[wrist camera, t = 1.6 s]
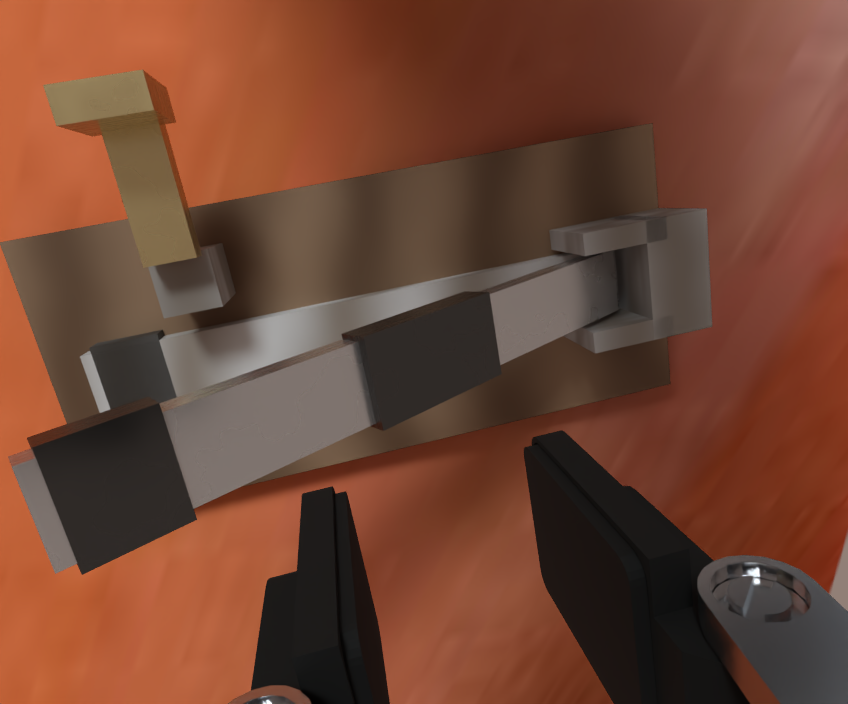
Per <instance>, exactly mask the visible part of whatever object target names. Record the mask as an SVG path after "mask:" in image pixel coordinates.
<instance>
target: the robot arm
mask: <svg viewBox="0 0 848 704" xmlns="http://www.w3.org/2000/svg"><path fill="white" fill-rule="evenodd" d="M524 459H525V465H526V472H527V479H528V486H529V493H530V500H531V506H532V513H533V520H534V527H535V534H536V541H537V548H538V554H539V561H540V568H541V573H542V577H543V580H544V583H545V586H546V588H547V590H548V592H549V594H550V596H551V597H552V599H553V601H554V602H555V604H556V606H557V608H558V609H559V611H560V613H561V614H562V616H563V618H564V619H565V621H566V623H567V625H568V626H569V628H570V630H571V631H572V633H573V635H574V636H575V638H576V640H577V642H578V643H579V645H580V647H581V648H582V650H583V652H584V654H585V655H586V657H587V659H588V660H589V662H590V664H591V665H592V667H593V669H594V671H595V672H596V674H597V676H598V677H599V679H600V681H601V682H602V684H603V686H604V688H605V689H606V691H607V693H608V694H609V696H610V698H611V700H612V701H613V703H614V704H848V611H847V610H845V609H844V608H843V607H842V606H841V605H840V604H839V603H838V602H837V601H836V600H835V599H834V598H832V596H831V595H829V594H828V593H827V592H826V591H825V590H824V589H823V588H822V587H821V586H820V585H819V584H818V583H817V582H816V581H814V580H813V579H812V578H810V577H809V576H808V575H806V574H805V573H804V572H802V571H801V570H799V569H797V568H795V567H793V566H790V565H788V564H786V563H784V562H781V561H777V560H773V559H770V558H766V557H759V556H749V555H741V556H728V557H725V558H722V559H718V560H715V561H713V560H712V559H711V558H710V557H709V556H708V555H707V554H706V553H705V552H703V551H702V550H701V549H700V548H699V547H698V546H697V545H696V544H695V543H694V542H692V541H691V540H690V539H689V538H688V537H687V536H686V535H685V534H684V533H682V532H681V531H680V530H679V529H678V528H677V527H676V526H675V525H674V524H673V523H671V522H670V521H669V520H668V519H667V518H666V517H665V516H664V515H663V514H662V513H660V512H659V511H658V510H657V509H656V508H655V507H654V506H653V505H652V504H651V503H649V502H648V501H647V500H646V499H645V498H644V497H643V496H642V495H641V494H639V493H638V492H637V491H636V490H635V489H633V488H632V487H630V486H624V487H623V486H622V485H621V484H620V483H619V482H618V481H617V480H616V479H615V478H613V477H612V476H611V475H610V474H609V473H608V472H607V471H606V470H605V469H604V468H603V467H602V466H601V465H600V464H598V463H597V462H596V461H595V460H594V459H593V458H592V457H591V456H590V455H589V454H588V453H587V452H586V451H585V450H583V449H582V448H581V447H580V446H579V445H578V444H577V443H576V442H575V441H574V440H573V439H572V438H571V437H570V436H568V435H567V434H566V433H565V432H564V431H557V432H553V433H549V434H545V435H541V436H537V437H533V439H532V446H529V447H525V448H524ZM228 704H390V702H389V695H388V688H387V681H386V673H385V666H384V659H383V652H382V644H381V637H380V631H379V626H378V621H377V616H376V612H375V608H374V604H373V599H372V595H371V591H370V587H369V583H368V579H367V575H366V570H365V566H364V562H363V558H362V554H361V550H360V546H359V541H358V537H357V533H356V529H355V525H354V521H353V516H352V512H351V508H350V504H349V500H348V496H347V493H346V492H342V493H337V494H335V491H334V488H333V486H332V487H328V488H324V489H320V490H316V491H312V492H308V493H303V494H302V503H301V519H300V534H299V549H298V565H297V571H296V572H292V573H288V574H284V575H280V576H277V577H273V578H270V579H268V580H267V584H266V590H265V596H264V603H263V610H262V617H261V624H260V631H259V638H258V645H257V652H256V659H255V666H254V673H253V680H252V687H251V691H249V692H247V693H245V694H243V695H241V696H239V697H237V698H235V699H233V700H232V701H231V702H229V703H228Z"/></svg>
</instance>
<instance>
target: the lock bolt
mask: <svg viewBox="0 0 848 704" xmlns="http://www.w3.org/2000/svg"><path fill="white" fill-rule="evenodd" d="M43 86H44V89H45V92H46V95H47V98H48V101H49V104H50V107H51V110H52V113H53V116H54V120H55V123H56V126H59V127H62V128H65V129H69V130H72V131H76V132H79V133H82V134H86V135H89V136H98V135H102V136H103V139H104V142H105V146H106V149H107V152H108V155H109V159H110V162H111V165H112V168H113V171H114V175H115V178H116V181H117V184H118V188H119V191H120V194H121V197H122V200H123V204H124V207H125V210H126V213H127V217H128V220H129V223H130V226H131V229H132V233H133V236H134V239H135V242H136V246H137V249H138V252H139V255H140V258H141V262H142V265H143V268H145V267H151V266H156V265H161V264H166V263H171V262H176V261H182V260H187V259H192V258H197V257H199V256H202V254H201V250H200V246H199V243H198V239H197V236H196V232H195V229H194V225H193V222H192V218H191V214H190V211H189V207H188V204H187V200H186V197H185V193H184V190H183V186H182V182H181V179H180V175H179V172H178V168H177V165H176V161H175V158H174V154H173V150H172V147H171V143H170V140H169V136H168V133H167V129H166V126H165V124H170V123H176V120H175V117H174V113H173V109H172V106H171V102H170V98H169V95H168V91H167V88H166V87H165V86H164V85H162V84H161V83H160V82H158V81H157V80H156V79H154V78H153V77H152V76H150V75H149V74H148V73H146V72H145V71H144V70H138V71H131V72H125V73H118V74H112V75H105V76H99V77H92V78H86V79H79V80H73V81H66V82H60V83H54V84H47V85H43Z"/></svg>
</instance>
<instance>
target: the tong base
mask: <svg viewBox="0 0 848 704" xmlns="http://www.w3.org/2000/svg"><path fill="white" fill-rule="evenodd" d="M189 211H190V214H191V218H192V222H193V225H194V229H195V232H196V236H197V239H198V243H199V246H200V250H201V254H202V256H199V257H197V258H192V259H187V260H182V261H176V262H171V263H166V264H161V265H156V266H151V267H145V268H143V265H142V262H141V258H140V255H139V252H138V249H137V246H136V242H135V239H134V236H133V233H132V229H131V226H130V223H129V220H128V219H125V220H120V221H115V222H109V223H104V224H98V225H93V226H87V227H82V228H76V229H71V230H65V231H60V232H54V233H49V234H43V235H38V236H33V237H27V238H22V239H16V240H11V241H5V242H0V245H1V248H2V250H3V253H4V256H5V258H6V261H7V264H8V267H9V269H10V272H11V275H12V277H13V280H14V283H15V285H16V288H17V291H18V293H19V296H20V299H21V301H22V304H23V307H24V309H25V312H26V315H27V317H28V320H29V323H30V326H31V328H32V331H33V334H34V336H35V339H36V342H37V344H38V347H39V350H40V352H41V355H42V358H43V360H44V363H45V366H46V368H47V371H48V374H49V376H50V379H51V382H52V385H53V387H54V390H55V393H56V395H57V398H58V401H59V403H60V406H61V409H62V411H63V414H64V417H65V419H66V422H67V424H69V423H72V422H75V421H78V420H81V419H84V418H87V417H90V416H92V415H95V414H98V413H101V412H104V411H107V410H110V409H113V408H116V407H119V406H122V405H125V404H128V403H131V402H134V401H137V400H139V399H142V398H145V397H150V398H152V399H153V400H155V401H157V402H158V403H162V402H165V401H168V400H171V399H174V398H176V397H179V396H182V395H185V394H188V393H191V392H194V391H196V390H199V389H202V388H205V387H208V386H211V385H214V384H216V383H219V382H222V381H225V380H228V379H231V378H233V377H236V376H239V375H242V374H245V373H248V372H251V371H253V370H256V369H259V368H262V367H265V366H268V365H271V364H273V363H276V362H279V361H282V360H285V359H288V358H291V357H293V356H296V355H299V354H302V353H305V352H308V351H310V350H313V349H316V348H319V347H322V346H325V345H328V344H330V343H333V342H336V341H339V340H342V335H341V334H342V333H345V332H348V331H351V330H354V329H357V328H360V327H362V326H365V325H368V324H371V323H374V322H377V321H380V320H383V319H386V318H389V317H392V316H394V315H397V314H400V313H403V312H406V311H409V310H412V309H415V308H418V307H421V306H424V305H426V304H429V303H432V302H435V301H438V300H441V299H444V298H447V297H450V296H453V295H456V294H458V293H461V292H464V291H470V292H479V291H482V290H484V289H487V288H490V287H493V286H496V285H499V284H501V283H504V282H507V281H510V280H513V279H516V278H519V277H521V276H524V275H527V274H530V273H533V272H536V271H539V270H541V269H544V268H547V267H550V266H553V265H556V264H558V263H561V262H564V261H567V260H570V259H573V258H576V257H578V256H581V255H582V256H588V255H593V254H598V253H603V252H608V251H612V250H615V260H616V271H617V282H618V293H619V304H620V309H619V310H617V311H615V312H613V313H611V314H609V315H606V316H604V317H602V318H600V319H598V320H596V321H594V322H591V323H589V324H587V325H585V326H583V327H581V328H579V329H577V330H574V331H572V332H570V333H568V334H566V335H564V336H562V337H559V338H557V339H555V340H553V341H551V342H549V343H547V344H544V345H542V346H540V347H538V348H536V349H534V350H532V351H530V352H527V353H525V354H523V355H521V356H519V357H517V358H515V359H512V360H510V361H508V362H506V363H504V364H502V365H500V366H501V372H502V374H501V375H499V376H497V377H495V378H493V379H490V380H488V381H486V382H484V383H482V384H480V385H478V386H476V387H474V388H472V389H470V390H468V391H466V392H464V393H461V394H459V395H457V396H455V397H453V398H451V399H449V400H447V401H445V402H443V403H441V404H439V405H437V406H435V407H432V408H430V409H428V410H426V411H424V412H422V413H420V414H418V415H416V416H414V417H412V418H410V419H408V420H405V421H403V422H401V423H399V424H397V425H395V426H393V427H391V428H389V429H387V430H385V431H382V430H379V429H376V428H374V427H371V426H369V427H367V428H365V429H363V430H361V431H359V432H357V433H355V434H352V435H350V436H348V437H346V438H344V439H342V440H340V441H337V442H335V443H333V444H331V445H329V446H327V447H325V448H323V449H320V450H318V451H316V452H314V453H312V454H310V455H308V456H305V457H303V458H301V459H299V460H297V461H295V462H293V463H290V464H288V465H286V466H284V467H282V468H280V469H278V470H276V471H273V472H271V473H269V474H267V475H265V476H263V477H261V478H258V479H256V480H254V481H252V482H250V483H248V484H246V485H244V486H247V485H251V484H255V483H259V482H263V481H267V480H272V479H276V478H280V477H284V476H288V475H292V474H297V473H301V472H305V471H309V470H313V469H317V468H322V467H326V466H330V465H334V464H338V463H343V462H347V461H351V460H355V459H359V458H363V457H368V456H372V455H376V454H380V453H384V452H388V451H393V450H397V449H401V448H405V447H409V446H413V445H418V444H422V443H426V442H430V441H434V440H438V439H443V438H447V437H451V436H455V435H459V434H463V433H468V432H472V431H476V430H480V429H484V428H488V427H493V426H497V425H501V424H505V423H509V422H513V421H518V420H522V419H526V418H530V417H534V416H539V415H543V414H547V413H551V412H555V411H559V410H564V409H568V408H572V407H576V406H580V405H584V404H589V403H593V402H597V401H601V400H605V399H609V398H614V397H618V396H622V395H626V394H630V393H634V392H639V391H643V390H647V389H651V388H655V387H659V386H664V385H668V384H670V370H669V356H668V341H667V337H669V336H674V335H678V334H682V333H687V332H691V331H696V330H700V329H704V328H709V327H712V311H711V290H710V269H709V247H708V226H707V209H699V208H658V196H657V182H656V167H655V153H654V138H653V124H652V123H650V124H645V125H639V126H634V127H628V128H623V129H617V130H612V131H606V132H601V133H595V134H590V135H585V136H579V137H574V138H568V139H563V140H557V141H552V142H546V143H541V144H535V145H530V146H524V147H519V148H513V149H508V150H503V151H497V152H492V153H486V154H481V155H475V156H470V157H464V158H459V159H453V160H448V161H442V162H437V163H432V164H426V165H421V166H415V167H410V168H404V169H399V170H393V171H388V172H382V173H377V174H371V175H366V176H360V177H355V178H350V179H344V180H339V181H333V182H328V183H322V184H317V185H311V186H306V187H300V188H295V189H289V190H284V191H278V192H273V193H268V194H262V195H257V196H251V197H246V198H240V199H235V200H229V201H224V202H218V203H213V204H207V205H202V206H197V207H191V208H189ZM241 487H242V486H241Z"/></svg>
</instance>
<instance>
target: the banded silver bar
mask: <svg viewBox="0 0 848 704" xmlns="http://www.w3.org/2000/svg"><path fill="white" fill-rule="evenodd" d="M619 309H620V304H619V293H618V282H617V271H616V260H615V250H612V251H608V252H603V253H598V254H593V255H588V256H582V255H581V256H578V257H576V258H573V259H570V260H567V261H564V262H561V263H558V264H556V265H553V266H550V267H547V268H544V269H541V270H539V271H536V272H533V273H530V274H527V275H524V276H521V277H519V278H516V279H513V280H510V281H507V282H504V283H501V284H499V285H496V286H493V287H490V288H487V289H484V290H482V291H479V292H470V291H464V292H461V293H458V294H456V295H453V296H450V297H447V298H444V299H441V300H438V301H435V302H432V303H429V304H426V305H424V306H421V307H418V308H415V309H412V310H409V311H406V312H403V313H400V314H397V315H394V316H392V317H389V318H386V319H383V320H380V321H377V322H374V323H371V324H368V325H365V326H362V327H360V328H357V329H354V330H351V331H348V332H345V333H342V334H341V335H342V340H339V341H336V342H333V343H330V344H328V345H325V346H322V347H319V348H316V349H313V350H310V351H308V352H305V353H302V354H299V355H296V356H293V357H291V358H288V359H285V360H282V361H279V362H276V363H273V364H271V365H268V366H265V367H262V368H259V369H256V370H253V371H251V372H248V373H245V374H242V375H239V376H236V377H233V378H231V379H228V380H225V381H222V382H219V383H216V384H214V385H211V386H208V387H205V388H202V389H199V390H196V391H194V392H191V393H188V394H185V395H182V396H179V397H176V398H174V399H171V400H168V401H165V402H162V403H158V402H157V401H155V400H153V399H152V398H150V397H145V398H142V399H139V400H137V401H134V402H131V403H128V404H125V405H122V406H119V407H116V408H113V409H110V410H107V411H104V412H101V413H98V414H95V415H92V416H90V417H87V418H84V419H81V420H78V421H75V422H72V423H69V424H66V425H63V426H60V427H57V428H54V429H51V430H48V431H45V432H43V433H40V434H37V435H34V436H31V437H28V438H27V440H28V442H29V445H30V447H31V449H28V450H25V451H23V452H20V453H17V454H14V455H11V456H8V458H9V461H10V463H11V466H12V469H13V471H14V474H15V476H16V478H17V481H18V483H19V486H20V488H21V491H22V493H23V496H24V498H25V500H26V503H27V505H28V508H29V510H30V513H31V515H32V518H33V520H34V522H35V525H36V527H37V530H38V532H39V535H40V537H41V540H42V542H43V544H44V547H45V549H46V552H47V554H48V557H49V559H50V562H51V564H52V566H53V569H54V571H55V574H56V573H58V572H60V571H62V570H64V569H66V568H68V567H71V566H73V565H75V564H77V565H78V567H79V569H80V572H81V574H82V575H83V574H85V573H87V572H89V571H91V570H93V569H95V568H97V567H99V566H101V565H103V564H105V563H108V562H110V561H112V560H114V559H116V558H118V557H120V556H122V555H124V554H126V553H128V552H130V551H133V550H135V549H137V548H139V547H141V546H143V545H145V544H147V543H149V542H151V541H153V540H155V539H157V538H160V537H162V536H164V535H166V534H168V533H170V532H172V531H174V530H176V529H178V528H180V527H182V526H185V525H187V524H189V523H191V522H193V521H195V520H197V518H196V515H195V512H194V508H197V507H199V506H201V505H203V504H205V503H207V502H209V501H212V500H214V499H216V498H218V497H220V496H222V495H224V494H226V493H229V492H231V491H233V490H235V489H237V488H239V487H241V486H244V485H246V484H248V483H250V482H252V481H254V480H256V479H258V478H261V477H263V476H265V475H267V474H269V473H271V472H273V471H276V470H278V469H280V468H282V467H284V466H286V465H288V464H290V463H293V462H295V461H297V460H299V459H301V458H303V457H305V456H308V455H310V454H312V453H314V452H316V451H318V450H320V449H323V448H325V447H327V446H329V445H331V444H333V443H335V442H337V441H340V440H342V439H344V438H346V437H348V436H350V435H352V434H355V433H357V432H359V431H361V430H363V429H365V428H367V427H369V426H371V427H374V428H376V429H379V430H382V431H385V430H387V429H389V428H391V427H393V426H395V425H397V424H399V423H401V422H403V421H405V420H408V419H410V418H412V417H414V416H416V415H418V414H420V413H422V412H424V411H426V410H428V409H430V408H432V407H435V406H437V405H439V404H441V403H443V402H445V401H447V400H449V399H451V398H453V397H455V396H457V395H459V394H461V393H464V392H466V391H468V390H470V389H472V388H474V387H476V386H478V385H480V384H482V383H484V382H486V381H488V380H490V379H493V378H495V377H497V376H499V375H501V374H502V372H501V366H500V365H502V364H504V363H506V362H508V361H510V360H512V359H515V358H517V357H519V356H521V355H523V354H525V353H527V352H530V351H532V350H534V349H536V348H538V347H540V346H542V345H544V344H547V343H549V342H551V341H553V340H555V339H557V338H559V337H562V336H564V335H566V334H568V333H570V332H572V331H574V330H577V329H579V328H581V327H583V326H585V325H587V324H589V323H591V322H594V321H596V320H598V319H600V318H602V317H604V316H606V315H609V314H611V313H613V312H615V311H617V310H619Z"/></svg>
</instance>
